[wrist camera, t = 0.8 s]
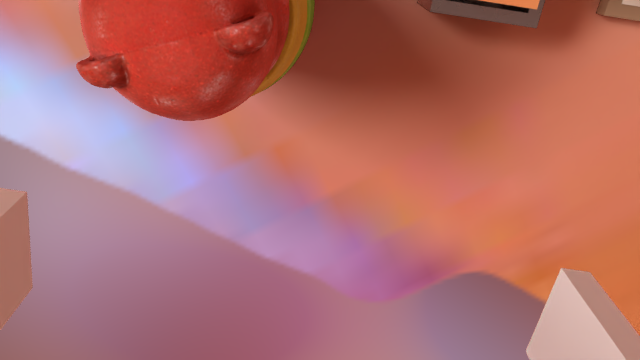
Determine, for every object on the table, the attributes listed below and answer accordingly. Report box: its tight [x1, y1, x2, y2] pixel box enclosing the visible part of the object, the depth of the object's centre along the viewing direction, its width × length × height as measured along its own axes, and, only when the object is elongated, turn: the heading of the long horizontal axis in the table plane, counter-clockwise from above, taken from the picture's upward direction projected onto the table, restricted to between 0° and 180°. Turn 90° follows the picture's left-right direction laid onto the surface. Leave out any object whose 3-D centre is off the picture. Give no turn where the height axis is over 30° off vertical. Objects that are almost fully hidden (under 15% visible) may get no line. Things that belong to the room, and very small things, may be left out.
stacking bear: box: [76, 0, 315, 121], centre depth 25 cm, size 11×10×18 cm
